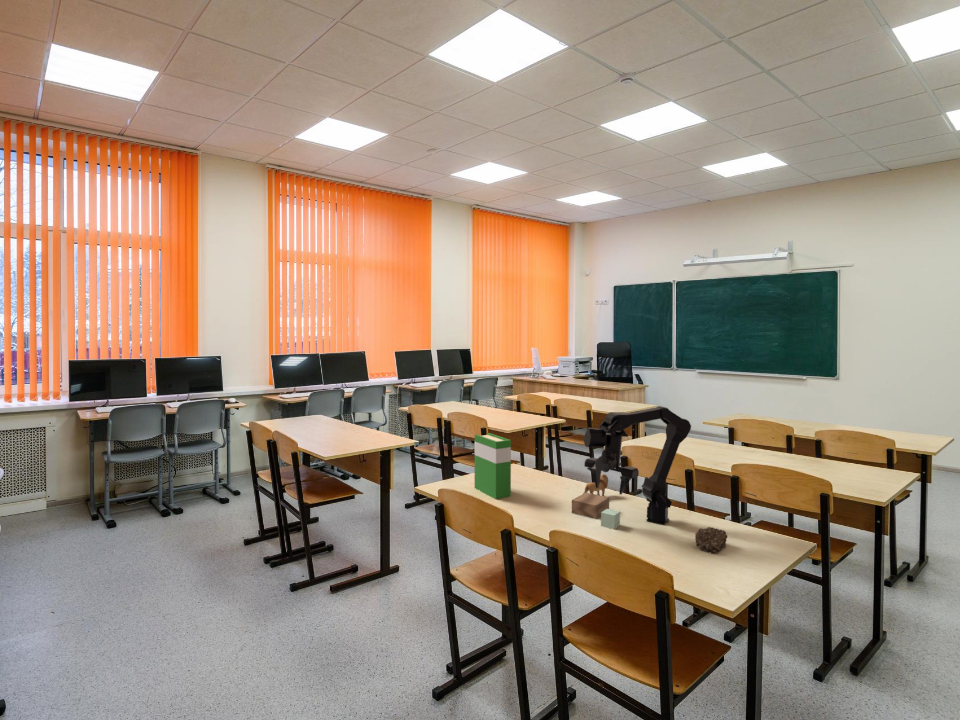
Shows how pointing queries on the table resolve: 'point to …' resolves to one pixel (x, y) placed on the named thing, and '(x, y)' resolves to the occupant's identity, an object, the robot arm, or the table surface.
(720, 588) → the table surface
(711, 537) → the brown rock
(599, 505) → the walnut block
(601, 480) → the lion figurine
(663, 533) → the table surface
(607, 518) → the sage cube
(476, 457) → the hardback book
